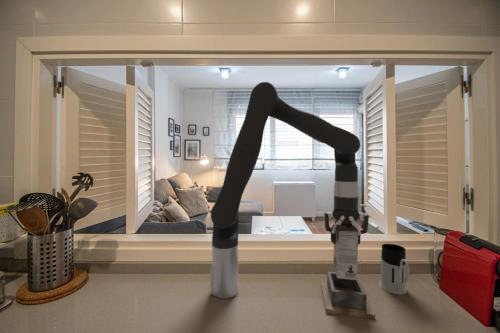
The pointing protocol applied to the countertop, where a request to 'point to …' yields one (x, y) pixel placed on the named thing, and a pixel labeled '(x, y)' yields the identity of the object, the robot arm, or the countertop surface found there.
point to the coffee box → (346, 252)
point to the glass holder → (393, 269)
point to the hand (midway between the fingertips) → (345, 244)
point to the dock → (345, 297)
